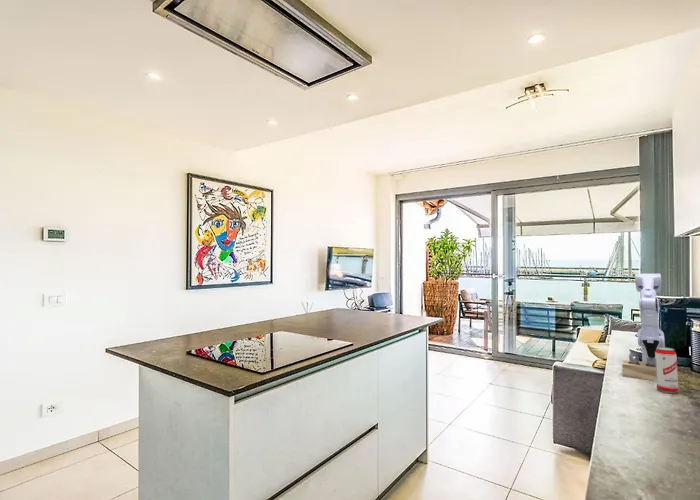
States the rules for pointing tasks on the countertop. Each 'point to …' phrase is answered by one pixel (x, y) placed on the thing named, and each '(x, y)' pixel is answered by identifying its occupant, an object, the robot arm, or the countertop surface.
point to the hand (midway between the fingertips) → (651, 357)
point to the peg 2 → (651, 362)
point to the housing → (638, 370)
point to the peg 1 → (634, 360)
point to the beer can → (666, 370)
